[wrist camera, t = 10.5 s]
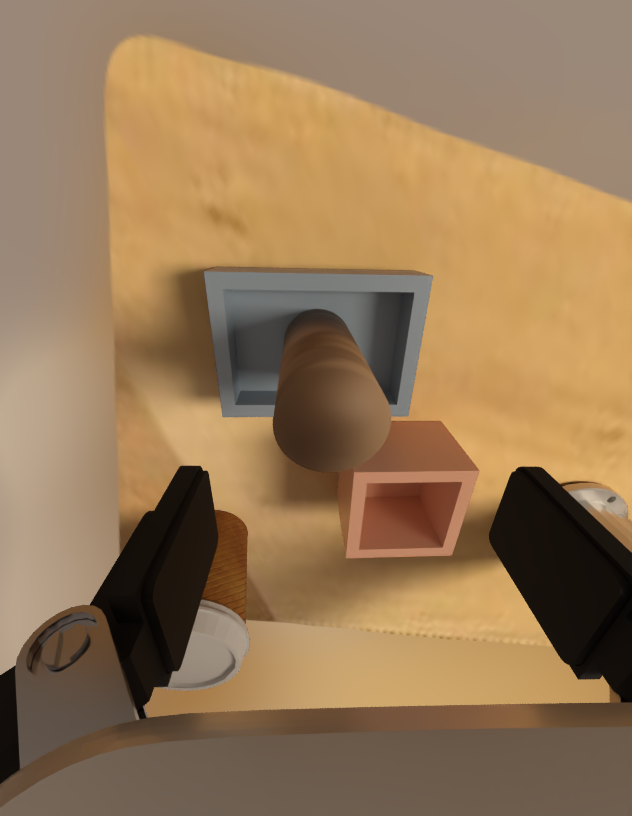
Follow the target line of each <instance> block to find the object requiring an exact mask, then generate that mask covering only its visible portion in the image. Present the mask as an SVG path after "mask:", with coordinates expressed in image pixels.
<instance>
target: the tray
mask: <svg viewBox="0 0 632 816" xmlns="http://www.w3.org/2000/svg"><path fill="white" fill-rule="evenodd" d="M204 278H205V285H206V293H207V301H208V308H209V316H210V324H211V331H212V339H213V347H214V354H215V362H216V370H217V378H218V385H219V393H220V401H221V408H222V416H223V417H273V416H274V409H275V402H276V395H277V388H278V380H279V373H280V366H281V359H282V352H283V345H284V338H285V333H286V330H287V328H288V326H289V324H290V323H291V322H292V320H293V319H294V318H295V317H297V316H298V315H299V314H301V313H303V312H305V311H308V310H312V309H324V310H328V311H331V312H333V313H335V314H336V315H338V316H339V317H340V318H341V319H342V320H343V321H344V322H345V324H346V325H347V327H348V329H349V331H350V333H351V334H352V336H353V338H354V340H355V342H356V344H357V345H358V347H359V349H360V351H361V353H362V355H363V356H364V358H365V360H366V362H367V364H368V366H369V367H370V369H371V371H372V373H373V375H374V377H375V378H376V380H377V382H378V384H379V386H380V388H381V389H382V391H383V393H384V395H385V397H386V399H387V401H388V403H389V406H390V411H391V416H408V414H409V409H410V403H411V398H412V392H413V386H414V381H415V375H416V369H417V364H418V358H419V353H420V347H421V341H422V336H423V330H424V324H425V319H426V313H427V308H428V302H429V296H430V291H431V285H432V280H433V276H432V275H429V274H425V273H422V272H418V271H408V270H357V269H306V268H255V267H215V268H212V269H209V270H206V271H204Z"/></svg>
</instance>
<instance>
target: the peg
mask: <svg viewBox="0 0 632 816" xmlns="http://www.w3.org/2000/svg"><path fill="white" fill-rule="evenodd" d="M390 426H391V411H390V406H389V403H388V401H387V399H386V397H385V395H384V393H383V391H382V389H381V388H380V386H379V384H378V382H377V380H376V378H375V377H374V375H373V373H372V371H371V369H370V367H369V366H368V364H367V362H366V360H365V358H364V356H363V355H362V353H361V351H360V349H359V347H358V345H357V344H356V342H355V340H354V338H353V336H352V334H351V333H350V331H349V329H348V327H347V325H346V324H345V322H344V321H343V320H342V319H341V318H340V317H339V316H338V315H336V314H335V313H333V312H331V311H328V310H324V309H312V310H308V311H305V312H303V313H301V314H299V315H298V316H297V317H295V318H294V319H293V320H292V322H291V323H290V324H289V326H288V328H287V330H286V333H285V338H284V345H283V352H282V359H281V366H280V373H279V380H278V388H277V395H276V402H275V409H274V416H273V431H274V435H275V439H276V441H277V443H278V445H279V447H280V448H281V450H282V451H283V452H284V453H285V455H286V456H287V457H289V458H290V459H291V460H292V461H294V462H295V463H296V464H298V465H300V466H302V467H305V468H307V469H310V470H314V471H320V472H339V471H344V470H348V469H351V468H354V467H356V466H359V465H361V464H362V463H364V462H366V461H367V460H369V459H370V458H371V457H372V456H374V455H375V454H376V453H377V452H378V451H379V450H380V448H381V447H382V445H383V444H384V442H385V440H386V439H387V436H388V434H389V431H390Z"/></svg>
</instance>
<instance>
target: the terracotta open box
mask: <svg viewBox="0 0 632 816" xmlns="http://www.w3.org/2000/svg"><path fill="white" fill-rule="evenodd" d="M478 474H479V469H478V468H477V467H476V466H475V464H474V463H473V462H472V460H471V459H470V458H469V456H468V455H467V454H466V453H465V451H464V450H463V449H462V447H461V446H460V445H459V444H458V442H457V441H456V440H455V438H454V437H453V436H452V435H451V433H450V432H449V431H448V429H447V428H446V427H445V426H444V424H443V423H442V422H441V421H403V422H391V426H390V431H389V434H388V436H387V439H386V440H385V442H384V444H383V445H382V447H381V448H380V450H379V451H378V452H377V453H376V454H375V455H374V456H372V457H371V458H370V459H369V460H367V461H366V462H364V463H362V464H361V465H359V466H356V467H354V468H351V469H348V470H344V471H339V476H338V490H337V502H338V508H339V515H340V522H341V529H342V536H343V542H344V549H345V556H346V558H378V557H415V556H452V554H453V551H454V548H455V545H456V542H457V538H458V535H459V532H460V529H461V526H462V523H463V520H464V517H465V514H466V511H467V508H468V505H469V502H470V499H471V495H472V492H473V489H474V486H475V483H476V480H477V477H478Z"/></svg>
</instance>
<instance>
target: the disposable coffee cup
mask: <svg viewBox="0 0 632 816" xmlns="http://www.w3.org/2000/svg"><path fill="white" fill-rule="evenodd" d="M215 516H216V523H217V529H218V545H217V549H216V552H215V556H214V559H213V562H212V566H211V569H210V572H209V576H208V579H207V582H206V586H205V589H204V592H203V596H202V599H201V602H200V606H199V609H198V612H197V616H196V619H195V622H194V626H193V629H192V632H191V636H190V639H189V643H188V646H187V649H186V653H185V656H184V659H183V662H182V665H181V668H180V669H179V671H173V672H172V676H171V679H170V682H169V685H168V687H159V688H164V689H171V690H187V691H188V690H189V691H190V690H201V689H207V688H211V687H215V686H218V685H220V684H222V683H225V682H226V681H228V680H230V679H232V678H233V677H234V676H235V675H236V674H237V672H238V671H239V669H240V666H241V663H242V660H243V658H244V657H245V656H246V654H247V652H248V650H249V646H250V639H249V635H248V630H247V628H246V625H245V624H246V618H245V617H246V580H247V536H248V531H247V528H246V526H245V524H244V522H243V521H242V520H241V519H239V518H238V517H237V516H235V515H233V514H230V513H227V512H223V511H215Z"/></svg>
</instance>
